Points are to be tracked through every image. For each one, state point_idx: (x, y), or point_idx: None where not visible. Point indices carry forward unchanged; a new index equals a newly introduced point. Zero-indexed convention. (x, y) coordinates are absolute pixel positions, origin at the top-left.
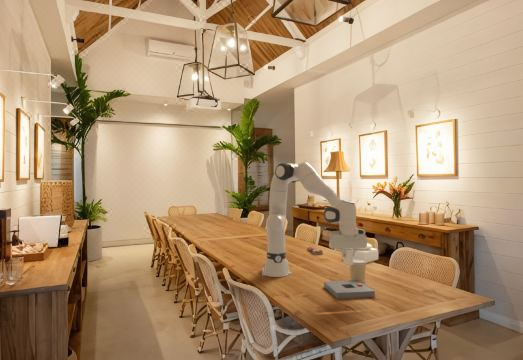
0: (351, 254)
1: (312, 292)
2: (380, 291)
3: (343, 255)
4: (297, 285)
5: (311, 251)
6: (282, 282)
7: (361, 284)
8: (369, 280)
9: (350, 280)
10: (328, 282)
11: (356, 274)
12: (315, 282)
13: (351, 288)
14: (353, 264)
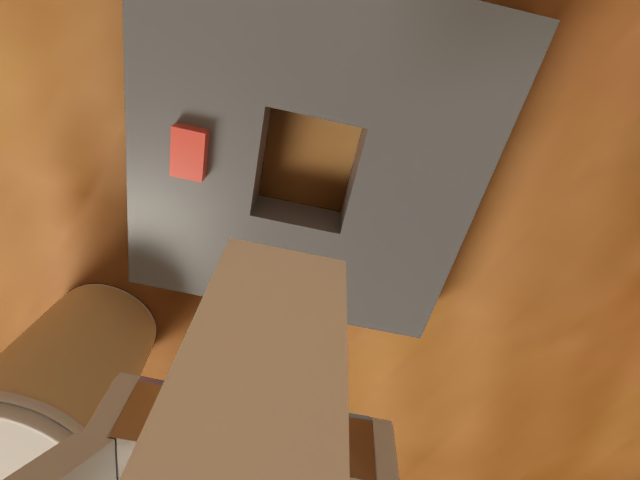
0: (206, 396)
1: (580, 247)
2: (23, 55)
3: (384, 445)
4: (551, 392)
5: None
6: (587, 457)
7: (176, 134)
8: (11, 313)
9: (198, 292)
10: (400, 313)
11: (105, 341)
12: (400, 398)
13: (320, 99)
14: (83, 428)
